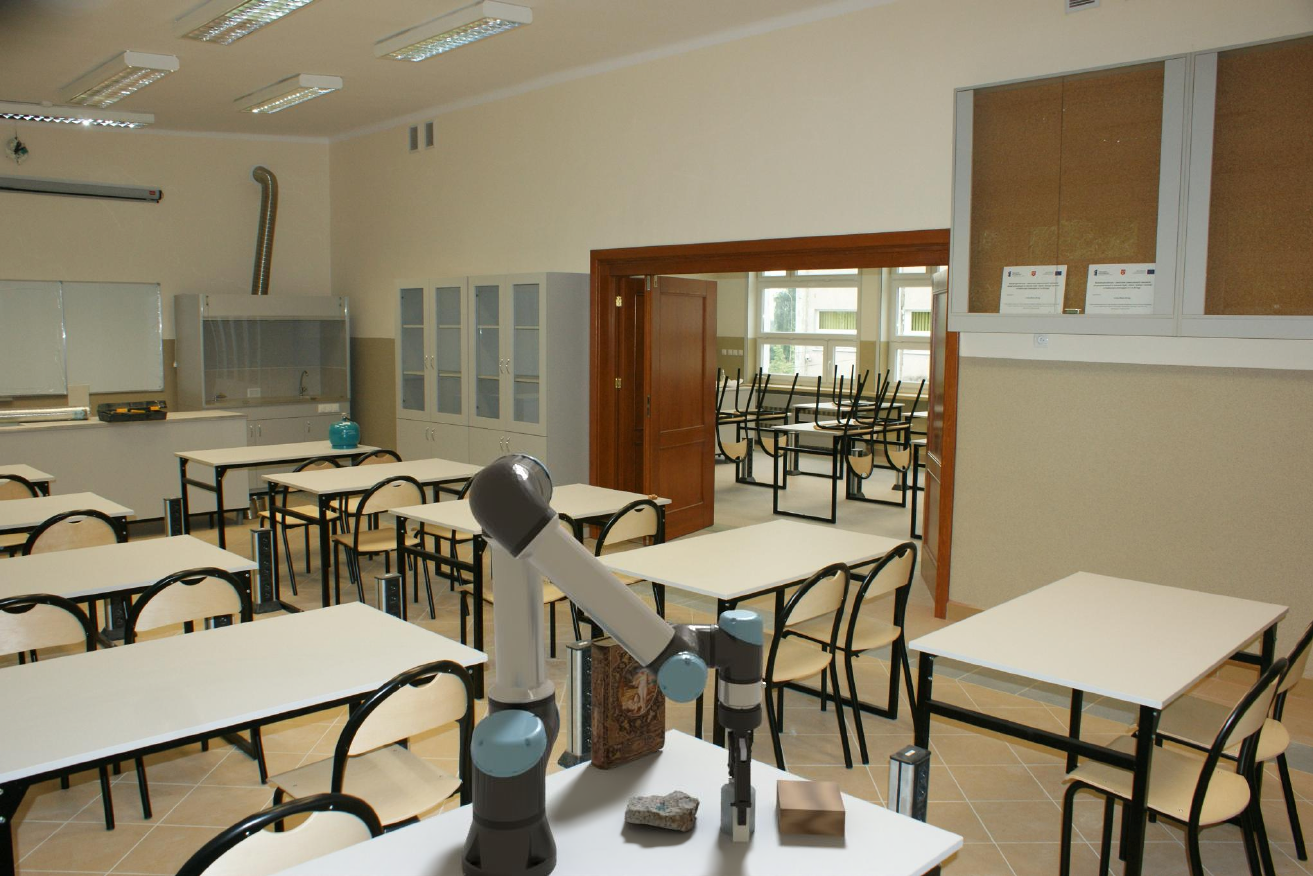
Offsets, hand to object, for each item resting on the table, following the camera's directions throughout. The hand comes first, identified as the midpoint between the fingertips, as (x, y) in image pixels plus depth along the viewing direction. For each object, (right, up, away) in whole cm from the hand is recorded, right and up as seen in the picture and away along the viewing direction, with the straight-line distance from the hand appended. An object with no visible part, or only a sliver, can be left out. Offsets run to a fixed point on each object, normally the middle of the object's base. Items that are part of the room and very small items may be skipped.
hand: (738, 826), depth 169 cm
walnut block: (+13, 0, +3) cm, 13 cm away
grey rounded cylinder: (0, 0, 0) cm, 0 cm away
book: (-20, +3, +30) cm, 36 cm away
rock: (-13, -1, -2) cm, 13 cm away
